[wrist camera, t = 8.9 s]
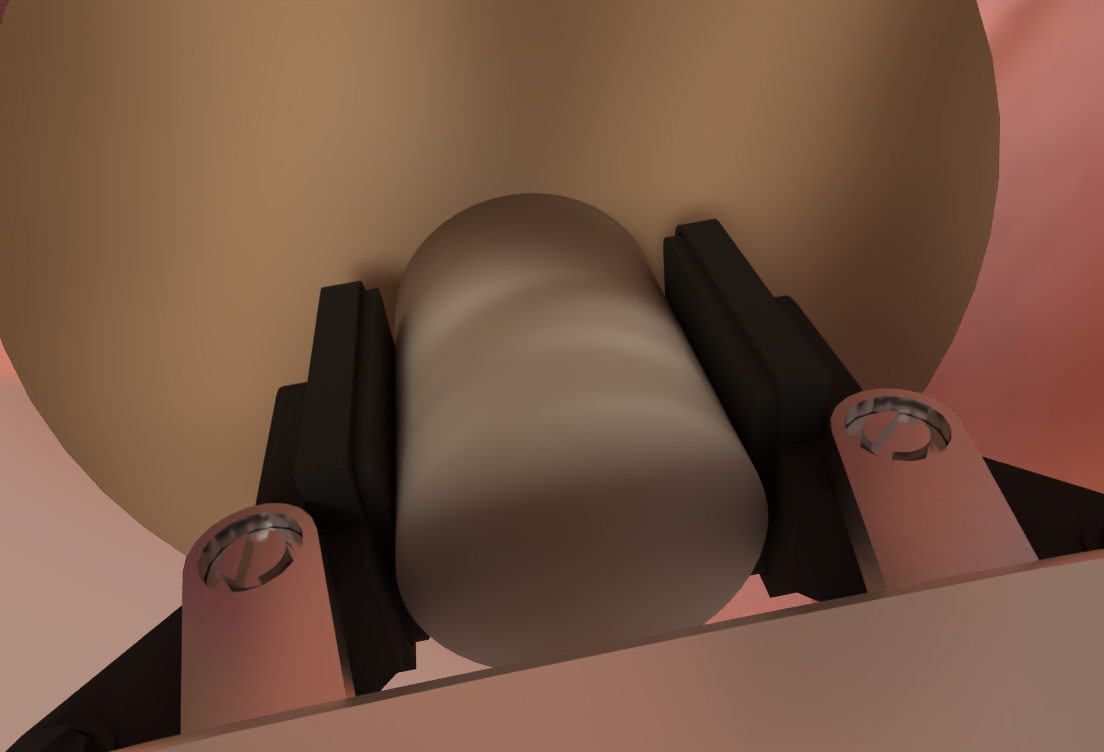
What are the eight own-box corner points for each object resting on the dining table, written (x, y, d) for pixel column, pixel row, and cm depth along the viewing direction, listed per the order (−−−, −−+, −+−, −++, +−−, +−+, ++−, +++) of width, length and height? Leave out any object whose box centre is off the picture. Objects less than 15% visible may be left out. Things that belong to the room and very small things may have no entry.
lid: (1068, -379, 10) (1717, -530, 5) (897, 520, 19) (1071, 780, 14) (-268, -209, 9) (-1044, -193, 4) (214, 651, 18) (147, 978, 13)
